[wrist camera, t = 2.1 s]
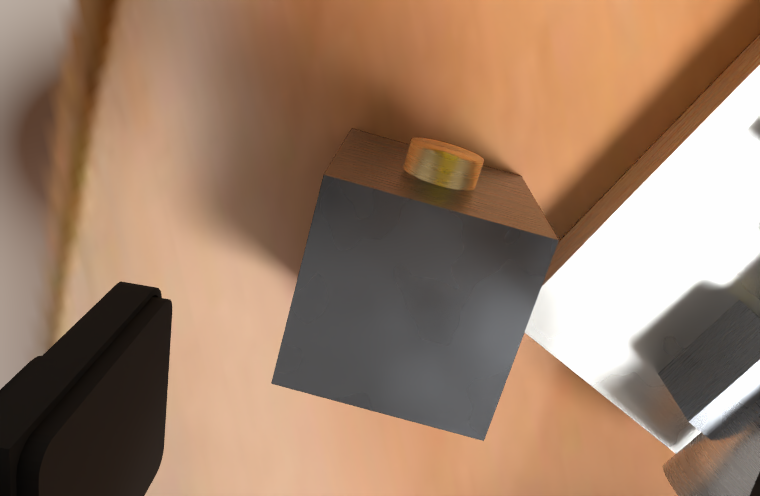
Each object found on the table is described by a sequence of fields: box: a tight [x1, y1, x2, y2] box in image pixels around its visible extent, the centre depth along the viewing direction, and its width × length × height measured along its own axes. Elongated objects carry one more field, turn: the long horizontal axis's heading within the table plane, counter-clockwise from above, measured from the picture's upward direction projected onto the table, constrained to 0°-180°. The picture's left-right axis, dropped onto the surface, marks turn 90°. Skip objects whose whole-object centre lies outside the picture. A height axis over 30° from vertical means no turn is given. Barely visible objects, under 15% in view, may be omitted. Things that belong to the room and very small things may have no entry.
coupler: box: [271, 129, 559, 441], centre depth 18 cm, size 6×5×6 cm
